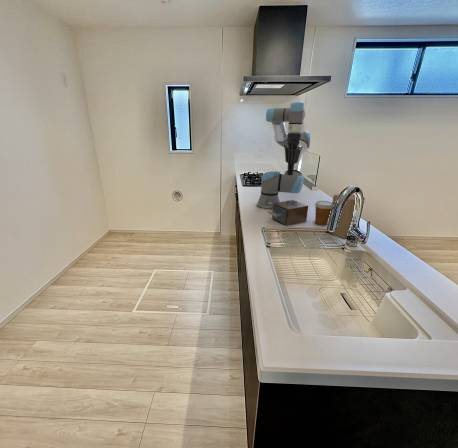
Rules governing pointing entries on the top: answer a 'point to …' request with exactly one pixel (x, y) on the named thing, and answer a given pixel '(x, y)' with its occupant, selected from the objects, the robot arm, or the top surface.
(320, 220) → the amber jar
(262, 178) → the robot arm
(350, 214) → the wooden block
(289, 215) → the cabinet
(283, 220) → the drawer
